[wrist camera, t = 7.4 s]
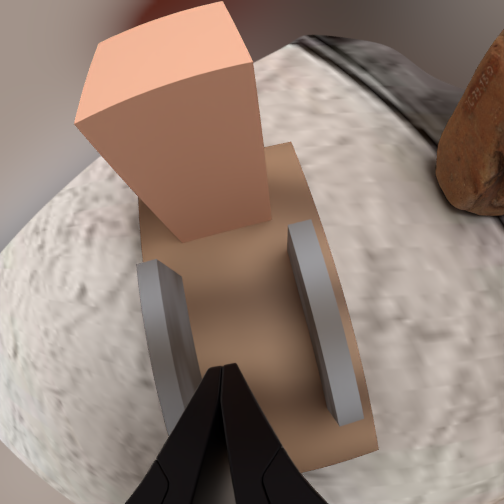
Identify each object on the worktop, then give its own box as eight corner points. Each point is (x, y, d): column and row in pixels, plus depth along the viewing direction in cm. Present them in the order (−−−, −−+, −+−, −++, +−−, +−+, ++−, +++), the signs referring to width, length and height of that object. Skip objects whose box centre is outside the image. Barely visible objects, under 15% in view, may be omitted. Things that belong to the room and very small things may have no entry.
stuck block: (271, 219, 19) (252, 61, 7) (182, 243, 19) (74, 124, 7) (251, 148, 21) (222, 1, 9) (173, 170, 21) (98, 43, 9)
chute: (372, 442, 15) (400, 472, 10) (198, 477, 15) (171, 513, 10) (291, 153, 22) (291, 103, 17) (145, 193, 22) (113, 155, 17)
